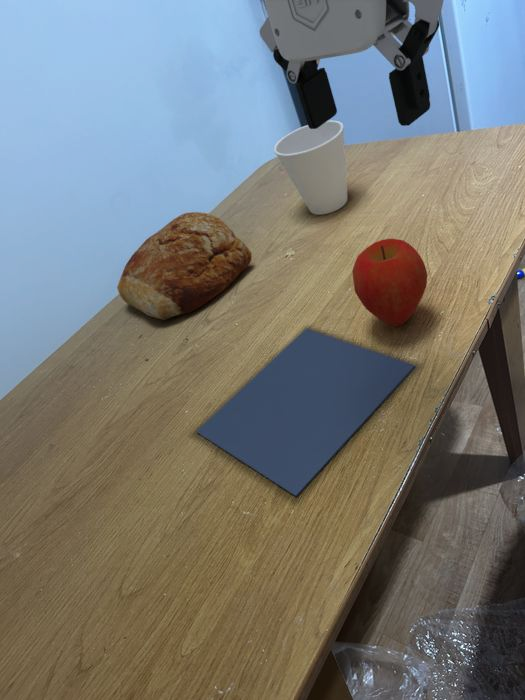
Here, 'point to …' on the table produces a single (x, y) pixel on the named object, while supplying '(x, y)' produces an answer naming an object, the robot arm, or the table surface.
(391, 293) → the apple
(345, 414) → the napkin
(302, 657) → the table surface
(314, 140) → the cup
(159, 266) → the bread
